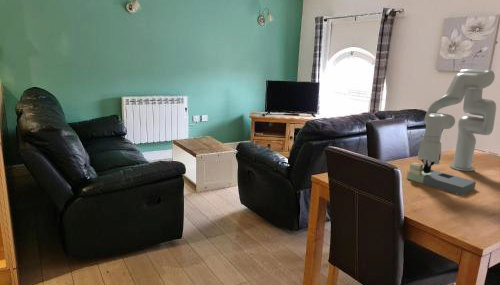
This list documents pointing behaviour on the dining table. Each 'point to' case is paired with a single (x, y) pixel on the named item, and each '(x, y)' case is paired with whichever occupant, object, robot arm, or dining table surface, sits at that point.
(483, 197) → the dining table surface
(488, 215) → the dining table surface
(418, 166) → the maple block
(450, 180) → the board
